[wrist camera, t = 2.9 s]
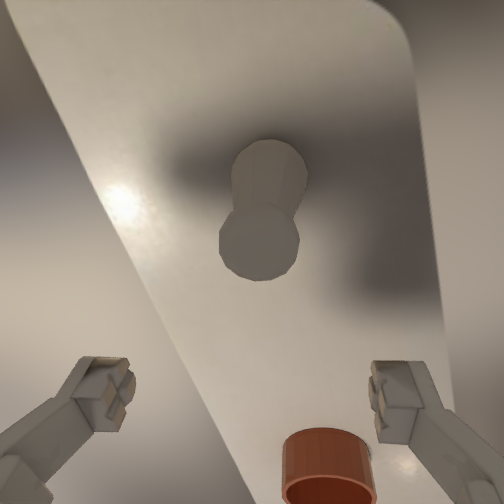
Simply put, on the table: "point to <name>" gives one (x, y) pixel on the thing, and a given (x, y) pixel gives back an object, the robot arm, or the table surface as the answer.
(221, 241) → the grey rounded piece
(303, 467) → the pot
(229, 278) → the table surface
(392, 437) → the robot arm
